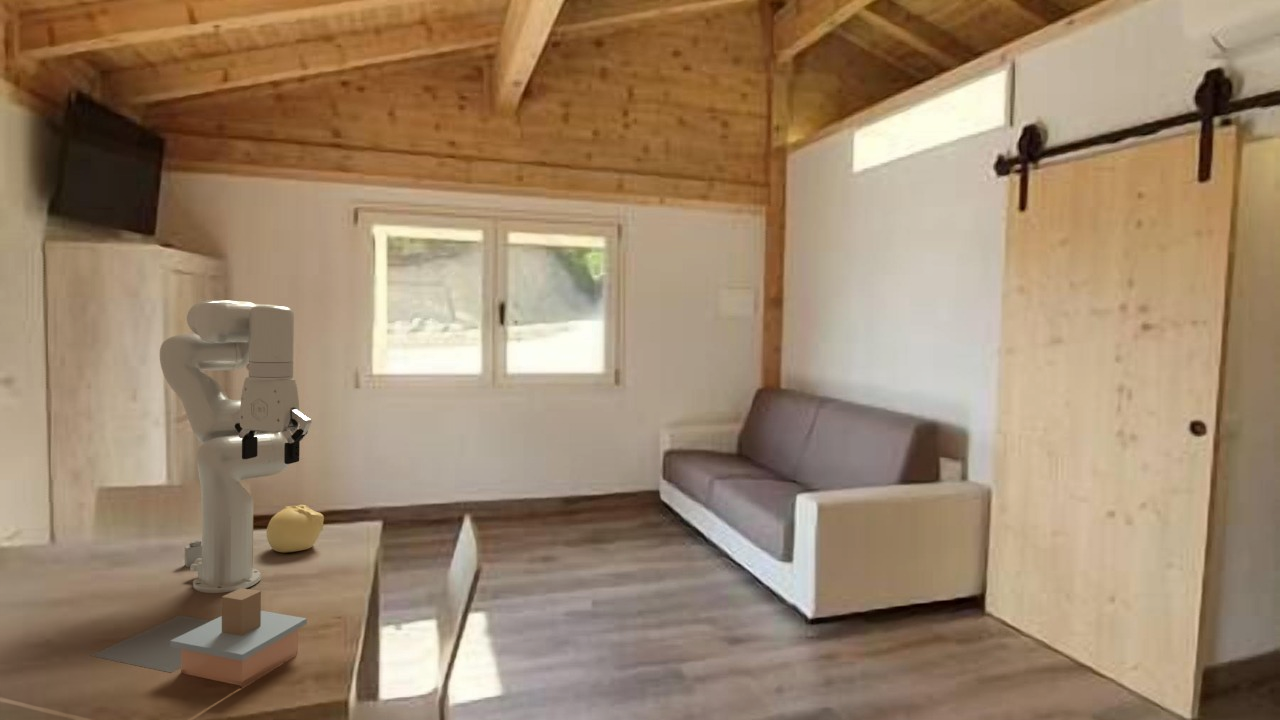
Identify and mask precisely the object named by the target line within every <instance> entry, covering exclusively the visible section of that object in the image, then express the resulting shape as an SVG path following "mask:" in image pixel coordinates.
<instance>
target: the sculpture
mask: <svg viewBox="0 0 1280 720" xmlns="http://www.w3.org/2000/svg"><path fill="white" fill-rule="evenodd" d="M324 521H325V516H324V514H322V513H321V512H318V511H315V510H313V509H311V508H310V507H309V506H308V505H305V504H298V505H290V506H289V505H286V506H284V508H283V509H282V510H279V511H278V512H277V513H276V514H274V515H273V516H272V517H271V519H270V520H269V523H268V524H267V527H266V539H267V543H268V545H269V546H270V547H271V548H272V550H274V551H275V552H278V553H293V552H299V551H305V550H309V549H311V548H312V547H313V546H314V545H315V544H316V542H317V540H318V539H319V536H320V534H321V533H322V532H323V530H324Z"/></svg>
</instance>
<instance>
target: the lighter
mask: <svg viewBox="0 0 1280 720" xmlns="http://www.w3.org/2000/svg"><path fill="white" fill-rule="evenodd" d="M197 558H202V539H197V540H193V541H191V542H190V543H189V545H187V546H184V566H185V565H186V566H185V567H188V566H191V564H194V563H195V560H196V559H197ZM188 568H189V567H188Z"/></svg>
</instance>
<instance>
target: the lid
mask: <svg viewBox="0 0 1280 720" xmlns="http://www.w3.org/2000/svg"><path fill="white" fill-rule="evenodd" d="M261 604H262V591H260V590H256V589H251V588H250V589H249V588H240V589H238V590H235V591H230V592H228V593H227V594H225V595H222V596H221V615H220V616H218V617H217V618H214V619H213V620H209V621H210V622H208V623H206V624H204V625H202V626H200V627H198V628H196V629H193V630H191V631H189V632H187V633H185V634H183V635H181V636H179V637H177V638H175V639H173V640H171V641H170V647H174V648H179V649H184V650H189V651H194V652H199V653H205V654H210V655H215V656H220V657H225V658H230V659H235V660H240V661H243V660H245V659H247V658H248V657H250V656H252V655H254V654H255V653H257V652H259V651H261V650H262V649H264V648H266V647H268V646H269V645H271V644H273V643H275V642H276V641H278V640H280V639H282V638H283V637H285V636H287V635H289V634H290V633H292V632H294V631H296V630H297V629H298V630H299V629H301V628H302V627H304V626H306V625H307V624H308V623H307V622H308V619H307V617H300V616H295V615H289V614H282V613H277V612H272V611H266V610H261V609H262V608H261V607H262V605H261Z"/></svg>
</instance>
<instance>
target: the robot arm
mask: <svg viewBox="0 0 1280 720" xmlns="http://www.w3.org/2000/svg"><path fill="white" fill-rule="evenodd" d="M294 315H295V314H294V312H293V310H292V309H291V308H290V307H288V306H279V305H276V304H265V303H264V304H263V303H253V302H251V301H246V300H245V301H244V300H243V301H242V300H241V301H239V300H228V299H227V300H221V299H219V300H218V299H207V300H202V301H200V302H197V303H194V305H192V306H191V307H190V308H189V310H188V311H187V314H186V322H187V323H186V324H187V326H188V327H189V329H190V330H191V331H192V332H193V333H184V334H183V333H182V334H177V335H173V336H170V337H168V338H166V339H165V340H164V341H163V342H162V344H161V345H160V349H159V364H160V368H161V371H162V375H163V376H164V379H165V381H166V382H167V384H168V385H169V386H170V388H171V390H172V391H173V392H174V393H175V394H176V396H177V397H178V399H180V401H181V403H182V405H183V408H184V411H185V413H186V414H185V415H186V417H187V419H188V422H189V425H190V426H191V427H190V428H191V429H192V432H193V434H194V436H195V438H196V439H197V441H199V442H200V443H202V444H201V445H200V446H198V449H197V451H196V465H197V472H198V477H199V482H200V493H201V543H202V558H197V559H196V560H195V563H194V564H191V566H190V567H189V570H190V571H193V572H194V571H195V572H196V571H197V577H196V578H195V579H194V580H193V581H192V588H193V589H194V590H195V591H198V592H199V593H200V592H201V593H205V594H206V593H207V594H220V593H231V592H233V591H236V590H238V589H240V588H245V589H249V588H251V587H253V586H254V585H255V586H256V584H257V583H259V582H260V581H261V579H262V572H261V571H259V570H258V569H256V568H254V499H253V496H252V494H251V493H250V492H249V491H248V490H247V489H246V488H245V487H243V485H242V484H241V482H242V481H245V480H250V479H251V480H252V479H257V478H264V477H265V478H266V477H273V476H277V475H280V474H282V473H284V472H285V471H286V470H287V468H288V467H289V465H290V464H295V463H299V461H300V448H301V447H300V442H302V441H303V440H304V438H305V436H307V434H308V432H309V431H308V430H309V428H310V426H311V424H312V420H311V418H309V417H307V416H306V415H304V414H303V413H302V412H301V411H300V403H299V402H300V401H299V393H298V392H299V391H298V387H297V382H296V381H297V380H296V379H295V378H294V338H295V337H294V335H295V333H294V330H295V329H294V328H295V327H294V325H295V321H294V320H295V319H294V318H295V317H294ZM244 367H245V368H246V371H248V377H245V378H244V382H243V386H242V390H241V396H240V399H230V398H228V395H227V393H226V391H225V388H224V387H223V386H222V385H221V383H220V382H218V381H217V380H216V379H215V378H213V377H211V376H210V375H208V374H206V373H204V372H203V371H234V370H239V369H242V368H244Z"/></svg>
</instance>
